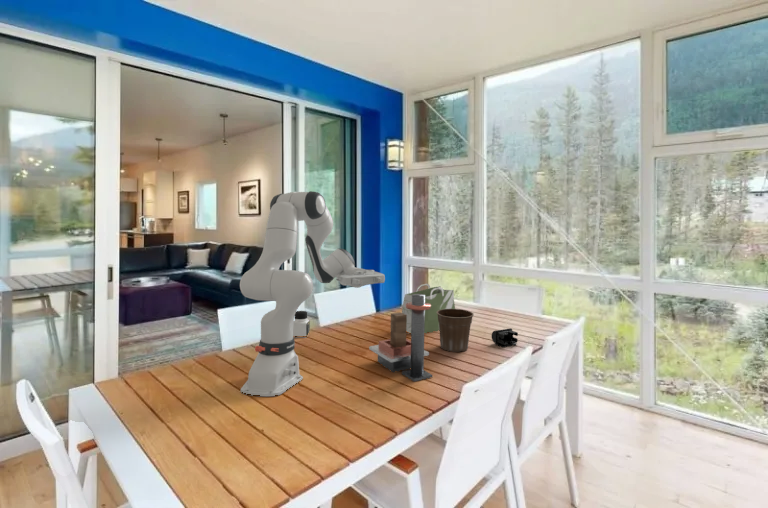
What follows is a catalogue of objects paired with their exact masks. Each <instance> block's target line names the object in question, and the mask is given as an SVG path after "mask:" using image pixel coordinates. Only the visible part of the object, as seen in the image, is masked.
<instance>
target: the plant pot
mask: <svg viewBox="0 0 768 508" xmlns="http://www.w3.org/2000/svg"><path fill="white" fill-rule="evenodd" d="M437 314H438V322H439V331H438V332H439V343H440V344H439V345H440V348H441V349H443V350H444V351H446V350H447V352H450V351H452V353H460V352H461V351H462V352H466V351H467V350H468V349H469V340H470V339H469V338H470V332H471V325H472V322H473V318H474V317H473V316H474V312H472V311H470V310H466V309H462V308H461V309H460V308H455V309H442V310H438V311H437Z"/></svg>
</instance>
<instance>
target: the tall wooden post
mask: <svg viewBox="0 0 768 508" xmlns="http://www.w3.org/2000/svg"><path fill="white" fill-rule="evenodd" d="M406 323H407V315H406V314H403V313H402V312H394V313H390V335H389V336H390V345H391V346H393V347H395V348H396V347H402V346H406V339H407V333H406Z"/></svg>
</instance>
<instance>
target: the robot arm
mask: <svg viewBox="0 0 768 508" xmlns="http://www.w3.org/2000/svg"><path fill="white" fill-rule="evenodd" d="M329 210H330V209H329V208H328V206H327V205H326V200H325V197H324V196H323V195H322V194H321V193H319V192H317V191H312V190H311V191H292V192H286V193H280V194H276V195H274V196H273V197H272V199H271V200H270V203H269V215H268V216H267V217H268V218H267V223H266V231H265V239H264V244H263V249H262V252H261V255H260V257H259V259H258V260H257V261H256V263H255V264H254V265H253V266H252V267H251V268H250V269H249V270H247V271H246V272H244V274H243V275H241V279H240V281H239V289H240V292H241V294H242V296H244V298H248V299H251V300H255V301H268V302H275V308H274V309H272V310H270V311H268V312H267V313H264V315H263V316H262V317H261V320H260V340H259V343H258V345H256V346H255V348H254V351H255V352H256V353H257V352H258V353H257V356H256V357H255V359H254V362H253V363H252V365H251V367H250V369H249V371H248V375H247V376H248V377H247V378H248V379H247V380H246V382H245V383H244V384H243V386H241V388H240V393H242V392H243V393H242V394H244V393H246V394H245V395H247V394H251V395H250V396H253V395H260V396H259V397H276V396H275V395H278V396H281V395H282V394H283V393H285V392H287V391H288V390H290V389H291V388H292V386H293V385H294V386H295V384H296V383H297V384H298V382H299V381H300V382H301V380H302V379H303V380H304V377H303V376H302V375H301V374H300V363H299V356H298V354H296V352H295V347H296V346H295V343H296V342H295V337H293V323H294V321H295V313H296V311H298V310H299V307H300V306H301V305H302V304H303V303H304V302H305V301H307V300H308V299H309V298H310V297H311V294H312V293H313V290H314V283H313V279H312V277H311V275H310V274H309V273H307V272H303V271H300V270H295V269H280V268H281V266H282V265H283V263H285V262H286V261H288V260H290V259H292V258H293V257H294V256H295V254H296V253H297V246H298V245H297V244H298V243H297V242H298V233H299V232H298V230H299V222H303V221H304V223H305V225H306V236H305V238H304V239H305V245H306V249H307V252H308V255H309V258H310V261H311V265H312V269H313V270H312V271H313V274H314V277H315V278H316V280H317V281H318V282H320V283H321V284H331V282H332V281H333V280H334V279H335V278H336V281H338V282H339V284H340V285H342V286H350V287H352V288H356V289H357V288H361V287H364V286H368V285H374V284H384V283H385V281H386V277H385V274H384V273H382V272H378V271H375V270H374V269H365V268H360V267H355V266H356V263H355V260H354V257H353V255H352V254H351V253H350V252H349V251H348V250H346V249H343V248H338V247H337V248H336V249H335V250H334V251H332V252H330V254H329V255H327V256H326V257H325V258H324V259H323V257H322V254H321V248H322V246H323V244H324V242H325V241H326V240H327V238H328V237H329V236H330V235H331V233H332V231H333V227H334V220H333V217H332V215H331V212H330V211H329ZM303 380H302V381H303ZM300 382H299V383H300ZM297 384H296V385H297ZM294 386H293V387H294ZM290 387H291V388H290ZM289 388H290V389H289ZM287 389H288V390H287ZM286 390H287V391H286Z"/></svg>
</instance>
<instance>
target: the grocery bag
mask: <svg viewBox="0 0 768 508" xmlns="http://www.w3.org/2000/svg"><path fill="white" fill-rule="evenodd" d="M424 286H427V287H428V288H426V289H423V290H419V289H420V288H422V287H424ZM454 293H455V291H454V289H444V288H443V287H441V286H434V287H433V286H432V287H431V286H430V284H429V283H424V284H420V285H418V287H417V289H416V291H414V292H409V293H405V294H404V298H403V302H402V309H401V313H403V314H406V315H407V323H406V331H407V332H409V333H411V312H412V310H410V309H407V308H406V303H409V302H412V294H424V295H425V303H429V304H431V309H429V310H425V327H424V333H426V334H428V333H427V332H430V333H434V332H433V331H436V332H439V331H438V330H439V322H438V314H437V311H438V310H442V309H456V305H455V297H454V296H455V294H454ZM409 333H408V334H409Z"/></svg>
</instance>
